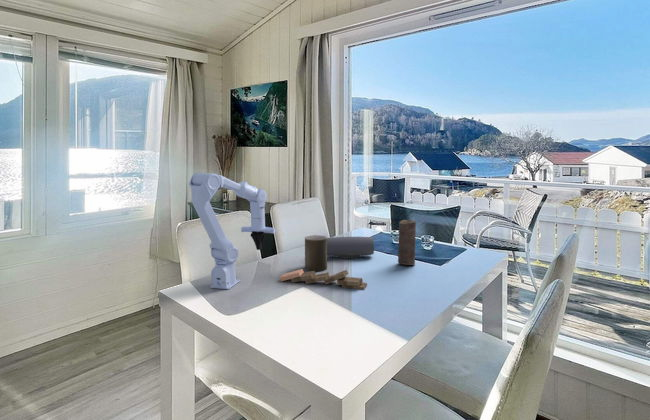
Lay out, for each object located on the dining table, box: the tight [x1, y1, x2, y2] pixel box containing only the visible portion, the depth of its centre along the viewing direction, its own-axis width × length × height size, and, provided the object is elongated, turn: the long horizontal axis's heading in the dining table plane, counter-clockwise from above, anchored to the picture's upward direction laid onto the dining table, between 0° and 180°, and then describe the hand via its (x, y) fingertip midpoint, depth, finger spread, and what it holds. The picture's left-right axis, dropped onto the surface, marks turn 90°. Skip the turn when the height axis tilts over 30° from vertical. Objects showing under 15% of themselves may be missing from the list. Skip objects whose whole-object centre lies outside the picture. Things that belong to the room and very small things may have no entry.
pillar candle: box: [304, 234, 328, 272], centre depth 162 cm, size 10×10×15 cm
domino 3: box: [304, 272, 330, 285], centre depth 146 cm, size 5×2×8 cm
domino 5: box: [336, 276, 364, 286], centre depth 142 cm, size 5×2×8 cm
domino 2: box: [290, 271, 317, 283], centre depth 147 cm, size 5×2×8 cm
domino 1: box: [279, 268, 305, 282], centre depth 149 cm, size 5×2×8 cm
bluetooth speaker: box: [327, 236, 375, 259], centre depth 178 cm, size 23×9×10 cm, turn 92°
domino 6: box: [341, 281, 368, 291], centre depth 142 cm, size 5×2×8 cm
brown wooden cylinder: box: [397, 219, 417, 266], centre depth 165 cm, size 8×7×20 cm
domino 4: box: [323, 269, 349, 285], centre depth 144 cm, size 5×2×8 cm
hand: (259, 249), depth 158 cm, fingers closed
